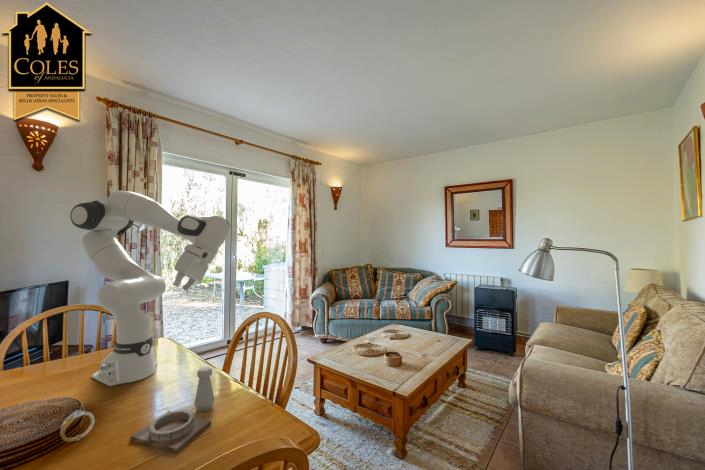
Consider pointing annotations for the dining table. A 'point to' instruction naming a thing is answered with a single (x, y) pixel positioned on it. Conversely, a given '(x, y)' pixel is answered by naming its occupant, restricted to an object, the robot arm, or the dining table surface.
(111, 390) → the dining table surface
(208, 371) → the salt shaker
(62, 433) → the bracelet
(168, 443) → the ring stand
